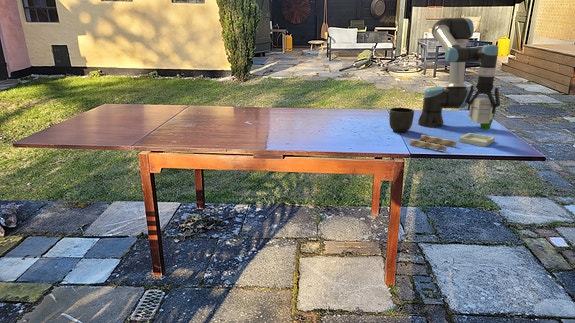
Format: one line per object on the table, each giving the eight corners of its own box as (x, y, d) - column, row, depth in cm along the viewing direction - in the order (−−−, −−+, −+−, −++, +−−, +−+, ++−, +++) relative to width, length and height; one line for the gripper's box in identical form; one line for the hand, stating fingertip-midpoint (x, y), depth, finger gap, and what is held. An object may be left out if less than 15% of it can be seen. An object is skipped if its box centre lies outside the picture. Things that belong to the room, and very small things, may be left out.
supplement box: (469, 120, 231) (472, 97, 228) (482, 120, 232) (486, 97, 228) (476, 123, 224) (479, 99, 221) (489, 123, 225) (493, 99, 221)
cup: (494, 130, 254) (497, 112, 251) (478, 130, 256) (481, 112, 253) (491, 127, 263) (493, 109, 259) (475, 126, 265) (478, 109, 261)
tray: (458, 141, 232) (459, 137, 231) (468, 136, 241) (469, 132, 241) (485, 147, 223) (485, 142, 222) (494, 141, 232) (495, 137, 232)
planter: (413, 129, 257) (415, 108, 253) (409, 135, 245) (412, 113, 241) (390, 127, 262) (392, 106, 258) (385, 132, 250) (387, 111, 246)
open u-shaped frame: (410, 145, 226) (410, 139, 225) (421, 140, 235) (422, 134, 234) (444, 152, 214) (445, 146, 213) (455, 146, 223) (456, 141, 222)
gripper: (461, 74, 225) (456, 115, 232) (507, 78, 211) (500, 122, 218) (467, 73, 230) (462, 113, 238) (511, 77, 216) (504, 119, 223)
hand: (480, 117), depth 228 cm, fingers closed on supplement box, 10 cm apart
